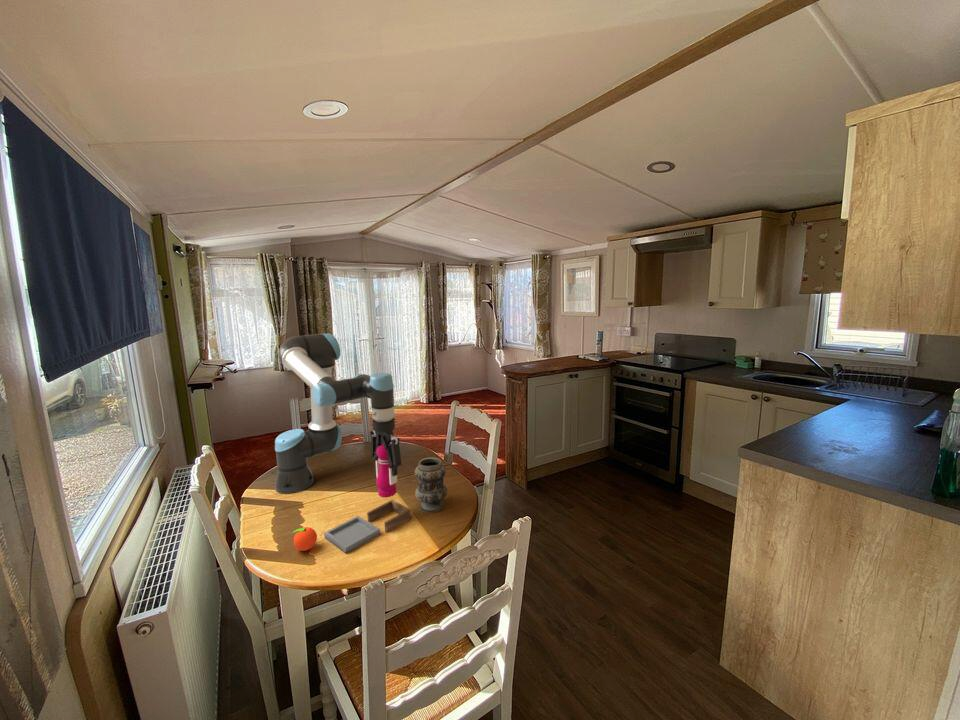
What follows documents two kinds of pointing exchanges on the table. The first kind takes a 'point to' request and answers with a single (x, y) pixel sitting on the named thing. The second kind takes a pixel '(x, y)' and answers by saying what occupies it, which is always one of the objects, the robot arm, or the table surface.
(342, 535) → the tray
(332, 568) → the table surface
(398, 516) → the cubby
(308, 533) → the clementine
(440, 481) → the apothecary jar
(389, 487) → the pepper mill
